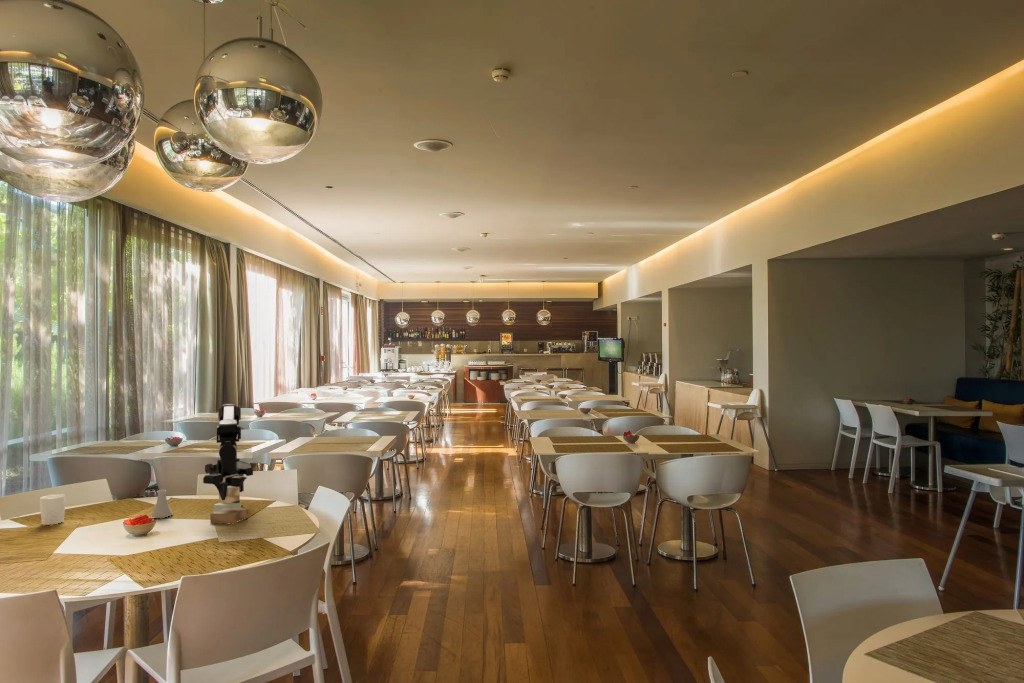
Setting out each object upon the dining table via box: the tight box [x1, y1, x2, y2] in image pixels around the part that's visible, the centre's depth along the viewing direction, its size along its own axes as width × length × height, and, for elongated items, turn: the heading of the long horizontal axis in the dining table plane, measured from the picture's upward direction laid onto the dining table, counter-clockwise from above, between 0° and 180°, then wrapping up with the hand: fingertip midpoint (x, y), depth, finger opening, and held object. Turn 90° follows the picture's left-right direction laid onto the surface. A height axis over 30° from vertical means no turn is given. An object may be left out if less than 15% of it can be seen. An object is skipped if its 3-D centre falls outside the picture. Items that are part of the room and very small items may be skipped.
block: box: [213, 502, 242, 512], centre depth 256 cm, size 4×9×4 cm, turn 71°
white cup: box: [39, 493, 66, 525], centre depth 246 cm, size 8×8×10 cm
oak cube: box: [218, 486, 241, 503], centre depth 246 cm, size 5×5×5 cm
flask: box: [151, 489, 174, 519], centre depth 253 cm, size 7×7×10 cm
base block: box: [209, 507, 248, 525], centre depth 246 cm, size 9×9×4 cm
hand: (229, 498), depth 246 cm, fingers closed on oak cube, 5 cm apart
